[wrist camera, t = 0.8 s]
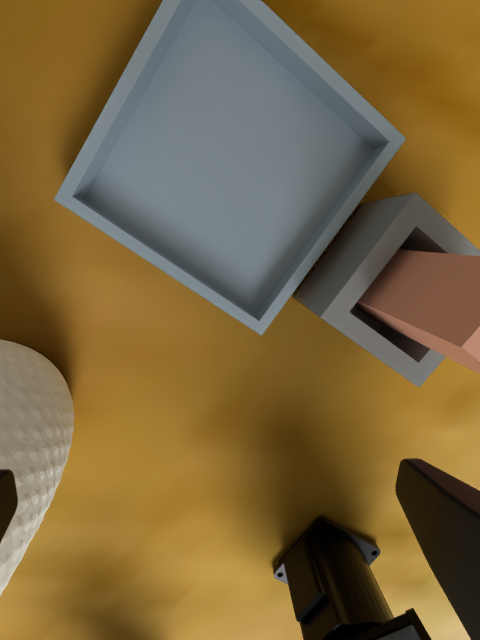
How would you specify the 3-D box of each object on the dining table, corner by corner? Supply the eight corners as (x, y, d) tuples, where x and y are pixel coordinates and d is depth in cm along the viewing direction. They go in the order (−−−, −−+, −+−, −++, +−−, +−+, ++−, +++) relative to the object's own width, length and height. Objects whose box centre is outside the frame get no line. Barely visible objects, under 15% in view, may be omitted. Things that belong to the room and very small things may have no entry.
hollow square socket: (439, 269, 20) (512, 280, 15) (371, 352, 21) (418, 387, 16) (362, 203, 18) (415, 192, 14) (293, 297, 20) (320, 317, 15)
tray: (379, 151, 18) (406, 138, 15) (255, 323, 20) (261, 335, 17) (198, -15, 15) (196, -62, 13) (75, 204, 17) (53, 199, 15)
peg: (406, 277, 19) (598, 319, 10) (373, 318, 20) (524, 397, 10) (369, 247, 19) (536, 260, 9) (335, 291, 19) (461, 347, 10)
